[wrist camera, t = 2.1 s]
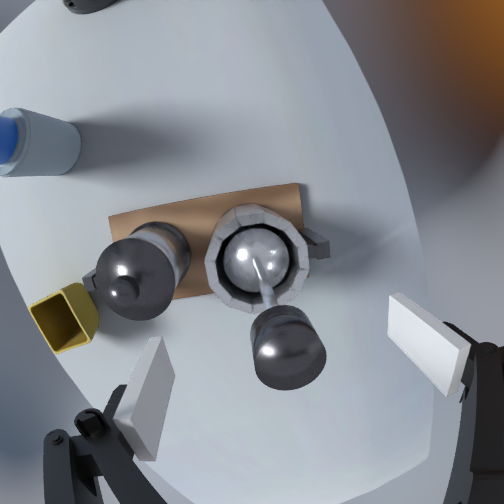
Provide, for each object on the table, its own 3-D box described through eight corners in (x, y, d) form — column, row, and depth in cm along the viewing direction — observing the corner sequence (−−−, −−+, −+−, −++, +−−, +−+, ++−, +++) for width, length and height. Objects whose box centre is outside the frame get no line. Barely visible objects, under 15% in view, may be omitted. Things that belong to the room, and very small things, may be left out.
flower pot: (88, 270, 42) (61, 289, 33) (112, 316, 44) (91, 342, 35) (54, 287, 42) (26, 307, 34) (77, 330, 44) (54, 355, 36)
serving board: (111, 215, 40) (108, 216, 39) (295, 182, 41) (298, 182, 40) (132, 301, 44) (129, 304, 42) (306, 273, 45) (309, 277, 43)
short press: (104, 231, 39) (44, 259, 23) (183, 215, 40) (154, 236, 24) (120, 294, 42) (74, 347, 26) (197, 282, 42) (180, 339, 26)
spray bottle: (71, 111, 36) (-36, 74, 12) (89, 155, 38) (-28, 143, 14) (34, 142, 36) (-75, 133, 12) (50, 185, 38) (-65, 200, 14)
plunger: (218, 233, 30) (202, 311, 12) (283, 222, 30) (359, 282, 12) (229, 294, 32) (232, 422, 13) (290, 283, 32) (356, 396, 14)
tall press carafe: (206, 209, 40) (195, 222, 27) (299, 195, 40) (329, 201, 28) (219, 280, 42) (215, 320, 30) (307, 265, 43) (337, 298, 30)
